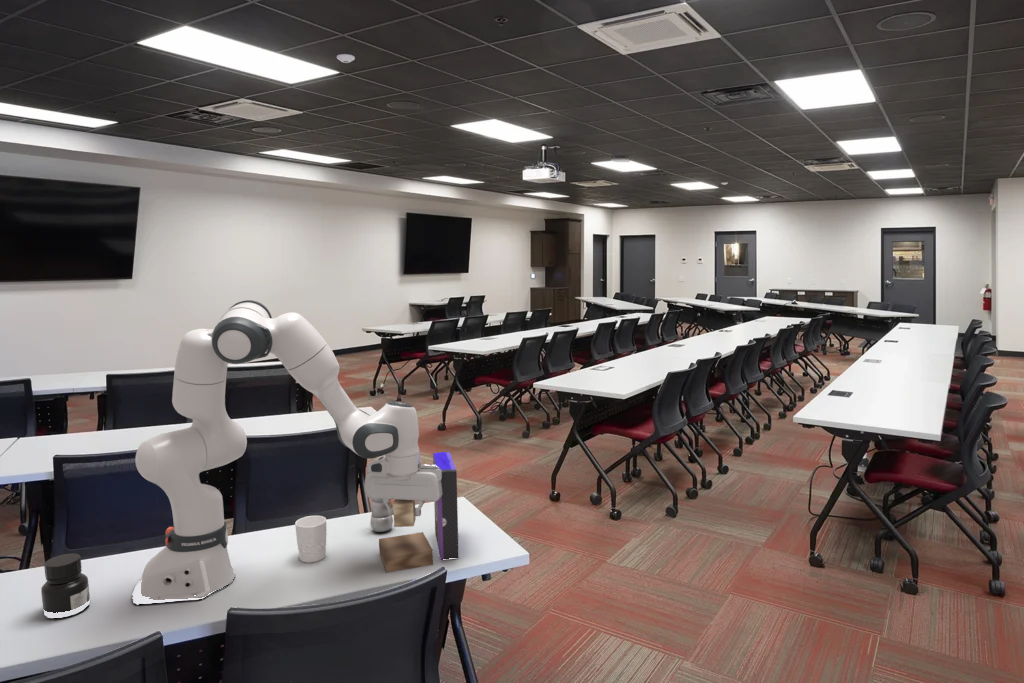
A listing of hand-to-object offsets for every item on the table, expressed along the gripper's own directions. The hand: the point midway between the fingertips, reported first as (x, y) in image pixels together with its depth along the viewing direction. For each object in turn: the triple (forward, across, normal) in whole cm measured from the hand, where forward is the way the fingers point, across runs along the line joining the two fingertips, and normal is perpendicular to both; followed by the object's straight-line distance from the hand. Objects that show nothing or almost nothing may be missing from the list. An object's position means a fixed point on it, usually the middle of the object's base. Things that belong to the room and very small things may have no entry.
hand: (404, 514), depth 173 cm
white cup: (+12, +25, +2) cm, 28 cm away
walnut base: (+12, 0, 0) cm, 12 cm away
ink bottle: (+12, +68, +37) cm, 78 cm away
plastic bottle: (+12, +14, -17) cm, 25 cm away
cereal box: (+12, -8, -10) cm, 18 cm away
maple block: (+2, 0, 0) cm, 2 cm away
